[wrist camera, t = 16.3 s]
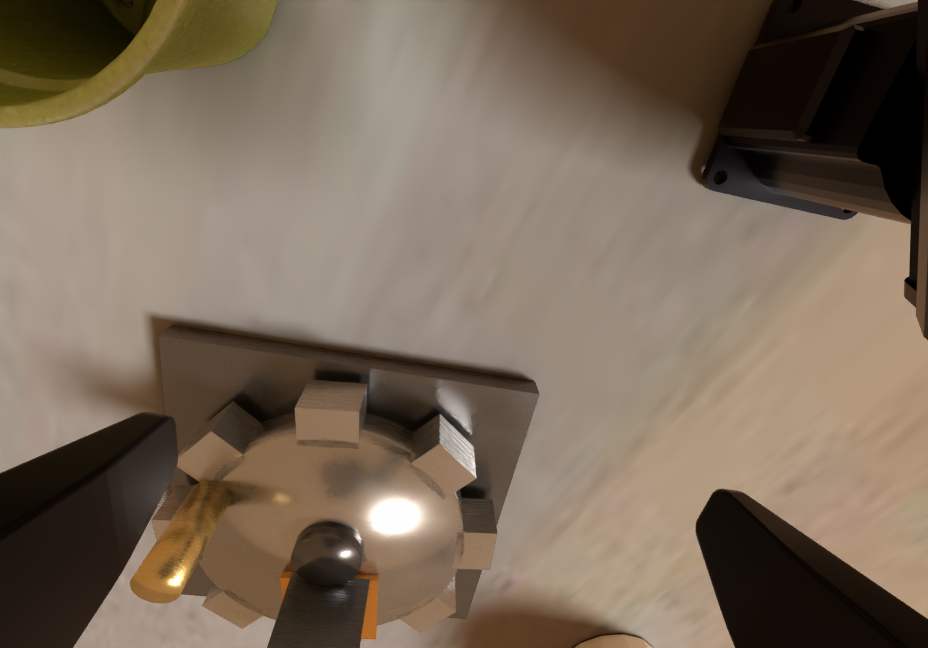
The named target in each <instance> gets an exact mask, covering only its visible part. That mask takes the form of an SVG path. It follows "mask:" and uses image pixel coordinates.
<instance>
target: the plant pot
mask: <svg viewBox="0 0 928 648" xmlns="http://www.w3.org/2000/svg"><path fill="white" fill-rule="evenodd" d="M132 1H133V6H132V7H131V8H129V7H127V6H125V5H124V4H123V3H121V2H120V1H119V0H0V128H18V127H32V126H39V125H45V124H51V123H56V122H60V121H64V120H68V119H72V118H75V117H77V116H80V115H83V114H86V113H88V112H90V111H92V110H94V109H96V108H98V107H101V106H103V105H105V104H106V103H108V102H110V101H111V100H113V99H114V98H116V97H117V96H119V95H121V94H122V93H124V92H125V91H126V90H127V89H129V88H130V87H131V86H132V85H134V84H135V83H136V82H137V81H138V80H140V79H141V78H142V76H143V75H144V74H149V73H156V72H162V71H169V70H180V69H191V68H199V67H206V66H215V65H220V64H225V63H228V62H231V61H233V60H236V59H237V58H239V57H241V56H243V55H244V54H246V53H247V52H248V51H250V50H251V49H252V48H253V47H254V46H255V45H256V44H258V43H259V42H260V40H261V39H262V38H263V37H264V36H265V34H266V33H267V31H268V29H269V27H270V25H271V21H272V18H273V15H274V11H275V7H276V4H277V0H132Z"/></svg>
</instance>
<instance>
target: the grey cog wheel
mask: <svg viewBox="0 0 928 648" xmlns="http://www.w3.org/2000/svg"><path fill="white" fill-rule="evenodd" d="M177 467H178V468H180V469H181V470H183V471H184V472H186V473H187V474H189V475H190V476H192V477H193V478H194V479H196V480H197V481H199V483H197V484H196V485H176V487H175V488H174V490H173V491H172V492H171V494H170V495H169V496H168V498H167V499H166V501H165V502H164V503H163V505H162V506H161V508H160V509H159V510H158V512H157V513H156V515H155V516H154V517H153V519H152V523H153V527H154V531H155V535H156V539H157V542H156V543H155V545H154V546H153V548H152V549H151V551H150V552H149V554H148V555H147V557H146V558H145V560H144V561H143V563H142V564H141V566H140V567H139V569H138V570H137V571H136V573H135V574H134V576H133V577H132V579H131V581H130V587H131V589H132V591H133V592H134V593H135V594H136V595H137V596H138V597H140V598H142V599H144V600H146V601H149V602H153V603H168V602H172V601H174V600H176V599H177V598H178V597H179V596H180V594H181V593H182V591H183V589H184V587H185V585H186V583H187V582H188V580H189V578H190V576H191V574H192V573H193V571H194V569H195V567H196V565H197V563H198V562H199V564H200V566H201V567H202V569H203V570H204V572H205V573H206V575H207V576H208V577H209V578H210V579H211V580H212V581H213V585H212V587H211V589H210V591H209V593H208V595H207V597H206V599H205V601H204V603H203V605H202V606H203V607H205V608H207V609H208V610H210V611H212V612H214V613H216V614H217V615H219V616H221V617H223V618H224V619H226V620H228V621H230V622H231V623H233V624H235V625H237V626H238V627H240V628H242V629H243V628H244V627H246V626H248V625H249V624H251V623H252V622H254V621H255V620H257V619H258V618H260V617H262V616H266V617H268V618H271V619H274V620H276V619H277V616H278V613H279V610H280V607H281V604H282V601H283V598H284V595H285V592H286V589H287V586H288V583H289V580H290V577H291V574H292V572H296V573H297V574H298V575H299V576H300V577H301V578H303V579H305V580H306V581H309V582H311V583H314V584H319V585H338V584H342V583H345V582H347V581H349V580H351V579H353V578H361V579H370V584H369V590H368V596H367V603H366V609H365V616H364V622H363V628H362V635H361V639H376V633H377V625H380V624H384V623H388V622H391V621H394V620H397V619H401V620H402V621H404V622H405V623H407V624H408V625H409V626H411V627H412V628H414V629H415V630H417V631H418V632H421V631H423V630H425V629H427V628H429V627H430V626H432V625H434V624H436V623H437V622H439V621H441V620H443V619H445V618H446V617H448V616H450V615H452V614H454V613H455V612H456V596H455V574H456V572H457V570H458V569H480V570H490V569H491V564H492V559H493V553H494V548H495V543H496V538H497V528H496V520H495V512H494V505H493V499H474V498H462V496H461V491H460V489H461V488H462V487H464V486H466V485H467V484H469V483H470V482H472V481H473V480H475V479H476V478H477V477H476V467H475V456H474V446H473V445H472V444H471V443H469V442H468V441H467V440H466V439H465V438H464V437H463V436H462V435H461V434H460V433H459V432H458V431H457V430H456V429H455V428H454V427H453V426H452V425H451V424H450V423H449V422H448V421H447V420H446V419H445V418H444V417H443V416H442V415H441V414H439V415H437V416H436V417H435V418H433V419H432V420H430V421H429V422H427V423H426V424H425V425H423V426H422V427H420V428H419V429H417V430H416V431H415V432H412V431H411V430H409V429H408V428H406V427H403V426H401V425H399V424H397V423H395V422H393V421H390V420H387V419H384V418H381V417H378V416H375V415H371V414H367V383H352V382H337V381H322V380H309V381H308V383H307V385H306V387H305V389H304V391H303V392H302V394H301V396H300V398H299V400H298V402H297V404H296V406H295V412H294V413H289V414H285V415H282V416H279V417H276V418H273V419H270V420H268V421H266V422H264V423H261V422H259V421H258V420H257V419H255V418H254V417H253V416H252V415H250V414H249V413H248V412H247V411H245V410H244V409H243V408H241V407H240V406H239V405H238V404H236V403H235V402H234V401H233V402H232V403H230V404H229V405H228V406H227V407H225V408H224V409H223V410H222V411H221V412H219V413H218V414H217V415H216V416H215V417H213V418H212V419H211V420H210V421H209V422H207V423H206V424H205V425H204V426H203V427H201V428H200V429H199V430H198V431H197V432H196V433H195V434H194V436H193V437H192V438H191V439H190V441H189V442H188V443H187V445H186V446H185V447H184V448H183V450H182V451H181V452H180V454H179V455H178V463H177Z"/></svg>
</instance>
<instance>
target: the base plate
mask: <svg viewBox="0 0 928 648" xmlns="http://www.w3.org/2000/svg"><path fill="white" fill-rule="evenodd" d="M158 338H159V350H160V362H161V374H162V387H163V399H164V411H165V414H166V415H170V416H172V417H173V418H174V420H175V423H176V432H177V447H178V455H179V454H180V452H181V451H182V450H183V448H184V447H185V446H186V445H187V443H188V442H189V441H190V439H191V438H192V437H193V436H194V434H195V433H196V432H197V431H198V430H199V429H200V428H201V427H203V426H204V425H205V424H206V423H207V422H209V421H210V420H211V419H212V418H213V417H215V416H216V415H217V414H218V413H219V412H221V411H222V410H223V409H224V408H225V407H227V406H228V405H229V404H230V403H232V402H233V401H234V402H235V403H236V404H238V405H239V406H240V407H241V408H243V409H244V410H245V411H247V412H248V413H249V414H250V415H252V416H253V417H254V418H255V419H257V420H258V421H259V422H261V423H264V422H266V421H268V420H270V419H273V418H276V417H279V416H282V415H285V414H289V413H294V412H295V406H296V404H297V402H298V400H299V398H300V396H301V394H302V392H303V391H304V389H305V387H306V385H307V383H308V381H309V380H322V381H337V382H352V383H367V414H371V415H375V416H378V417H381V418H384V419H387V420H390V421H393V422H395V423H397V424H399V425H401V426H403V427H406V428H408V429H409V430H411V431H412V432H415V431H416V430H417V429H419V428H420V427H422V426H423V425H425V424H426V423H427V422H429V421H430V420H432V419H433V418H435V417H436V416H437V415H439V414H441V415H442V416H443V417H444V418H445V419H446V420H447V421H448V422H449V423H450V424H451V425H452V426H453V427H454V428H455V429H456V430H457V431H458V432H459V433H460V434H461V435H462V436H463V437H464V438H465V439H466V440H467V441H468V442H469V443H471V444H472V445H473V446H474V456H475V467H476V477H477V478H476V479H475V480H473V481H472V482H470V483H469V484H467V485H466V486H464V487H462V488H461V489H460V491H461V496H462V498H474V499H493V505H494V512H495V520H496V526H497V523H498V520H499V517H500V513H501V510H502V507H503V504H504V501H505V498H506V495H507V492H508V489H509V486H510V483H511V480H512V477H513V474H514V471H515V468H516V464H517V461H518V458H519V455H520V452H521V449H522V446H523V443H524V440H525V437H526V434H527V431H528V428H529V425H530V422H531V419H532V416H533V412H534V409H535V406H536V403H537V400H538V397H539V392H538V389H537V386H536V383H535V382H531V381H524V380H518V379H512V378H505V377H499V376H493V375H486V374H480V373H473V372H467V371H461V370H454V369H448V368H442V367H435V366H429V365H422V364H416V363H410V362H403V361H397V360H391V359H384V358H378V357H371V356H365V355H359V354H352V353H346V352H339V351H333V350H327V349H320V348H314V347H308V346H301V345H295V344H288V343H282V342H276V341H269V340H263V339H257V338H250V337H244V336H237V335H231V334H225V333H218V332H212V331H206V330H199V329H193V328H186V327H180V326H174V325H172V326H170V327H169V328H168V329H166V330H165V331H164V332H163V333H161V334H160V335H159V336H158ZM197 483H199V481H197V480H196V479H194V478H193V477H192V476H190V475H189V474H187V473H186V472H184V471H183V470H181V469H180V468H178V467H176V470H175V472H174V475H173V477H172V478H171V480H170V484H171V492H172V491H173V490H174V488H175V487H176V485H196V484H197ZM481 572H482V570H480V569H458V570H457V572H456V574H455V596H456V612H455V613H454V614H452V615H450V616H448V617H449V618H461V619H466V618H467V615H468V611H469V608H470V605H471V602H472V599H473V596H474V593H475V590H476V587H477V584H478V581H479V578H480V575H481ZM212 585H213V581H212V580H211V579H210V578H209V577H208V576H207V575H206V573H205V572H204V570H203V569H202V567H201V566H200V564H199V562H198V563H197V565H196V567H195V569H194V571H193V573H192V574H191V576H190V578H189V580H188V582H187V583H186V585H185V587H184V589H183V591H182V593H181V594H185V595H196V596H207V595H208V593H209V591H210V589H211V587H212Z"/></svg>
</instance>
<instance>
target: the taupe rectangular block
mask: <svg viewBox="0 0 928 648" xmlns="http://www.w3.org/2000/svg"><path fill="white" fill-rule="evenodd" d="M369 584H370V579H361V578H353V579H351V580H349V581H347V582H345V583H342V584H338V585H319V584H314V583H311V582H309V581H306V580H305V579H303V578H301V577H300V576H299V575H298V574H297V573H296V572H292V574H291V577H290V580H289V583H288V586H287V589H286V592H285V595H284V598H283V601H282V604H281V607H280V610H279V613H278V616H277V619H276V622H275V625H274V629H273V632H272V635H271V638H270V641H269V644H268V647H267V648H360V641H361V635H362V628H363V622H364V616H365V609H366V603H367V596H368V590H369Z"/></svg>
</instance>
